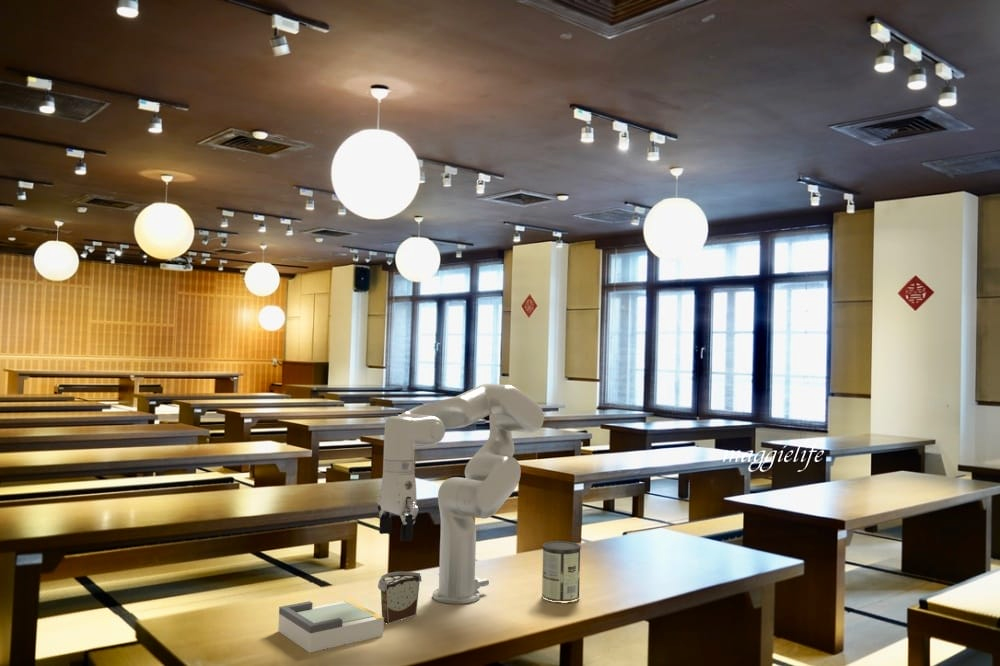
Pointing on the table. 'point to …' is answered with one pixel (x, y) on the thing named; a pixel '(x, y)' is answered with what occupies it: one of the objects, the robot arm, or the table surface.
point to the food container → (399, 595)
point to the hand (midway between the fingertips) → (395, 536)
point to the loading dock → (328, 624)
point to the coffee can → (561, 571)
